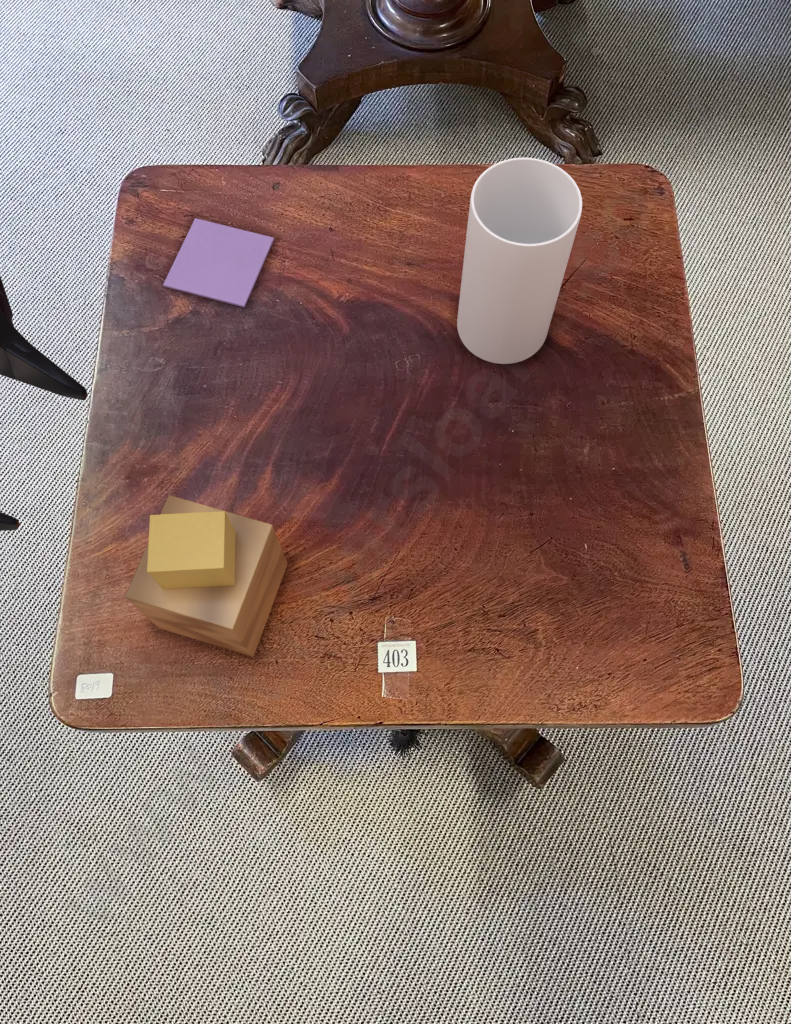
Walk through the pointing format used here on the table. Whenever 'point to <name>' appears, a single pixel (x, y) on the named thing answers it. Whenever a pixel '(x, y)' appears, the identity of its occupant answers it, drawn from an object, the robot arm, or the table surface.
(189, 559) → the cheese
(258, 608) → the stand
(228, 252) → the towel
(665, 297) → the table surface
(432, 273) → the table surface
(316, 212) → the table surface
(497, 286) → the cup
